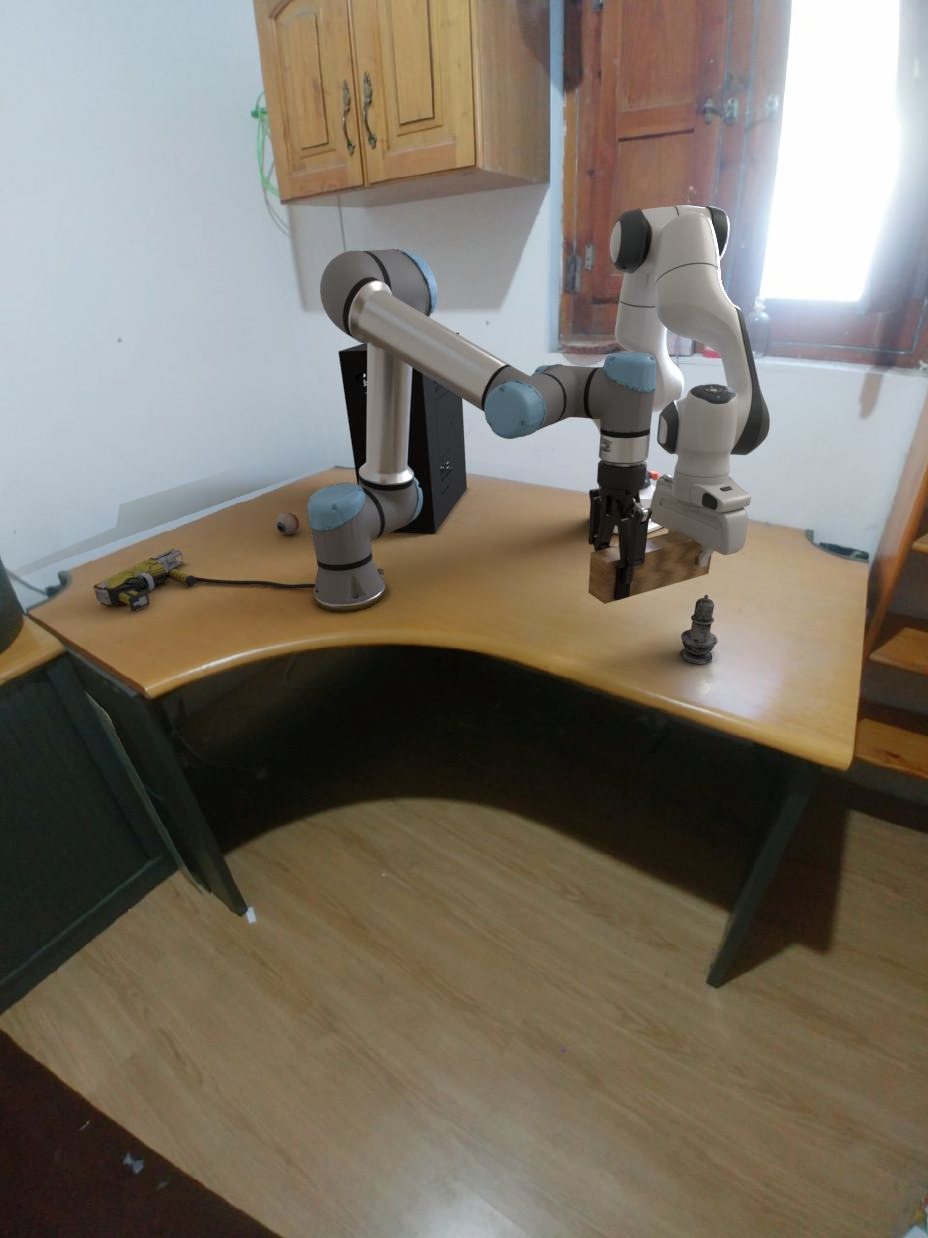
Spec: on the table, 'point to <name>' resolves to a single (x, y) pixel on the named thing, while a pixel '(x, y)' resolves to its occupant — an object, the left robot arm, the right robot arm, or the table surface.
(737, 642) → the table surface
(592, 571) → the bar
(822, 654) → the table surface
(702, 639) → the dark grey piece
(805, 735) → the table surface
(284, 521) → the eyeball
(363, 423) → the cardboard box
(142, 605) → the toy gun
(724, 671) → the table surface
